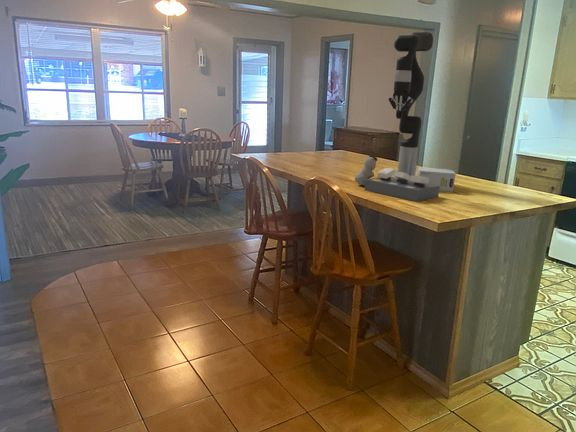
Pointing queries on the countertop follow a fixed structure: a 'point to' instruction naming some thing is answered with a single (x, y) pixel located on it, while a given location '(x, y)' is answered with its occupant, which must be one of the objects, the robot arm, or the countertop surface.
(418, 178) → the switch
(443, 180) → the supplement box
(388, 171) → the switch
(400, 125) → the robot arm
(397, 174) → the switch
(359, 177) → the figurine
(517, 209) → the countertop surface
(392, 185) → the grey tray
